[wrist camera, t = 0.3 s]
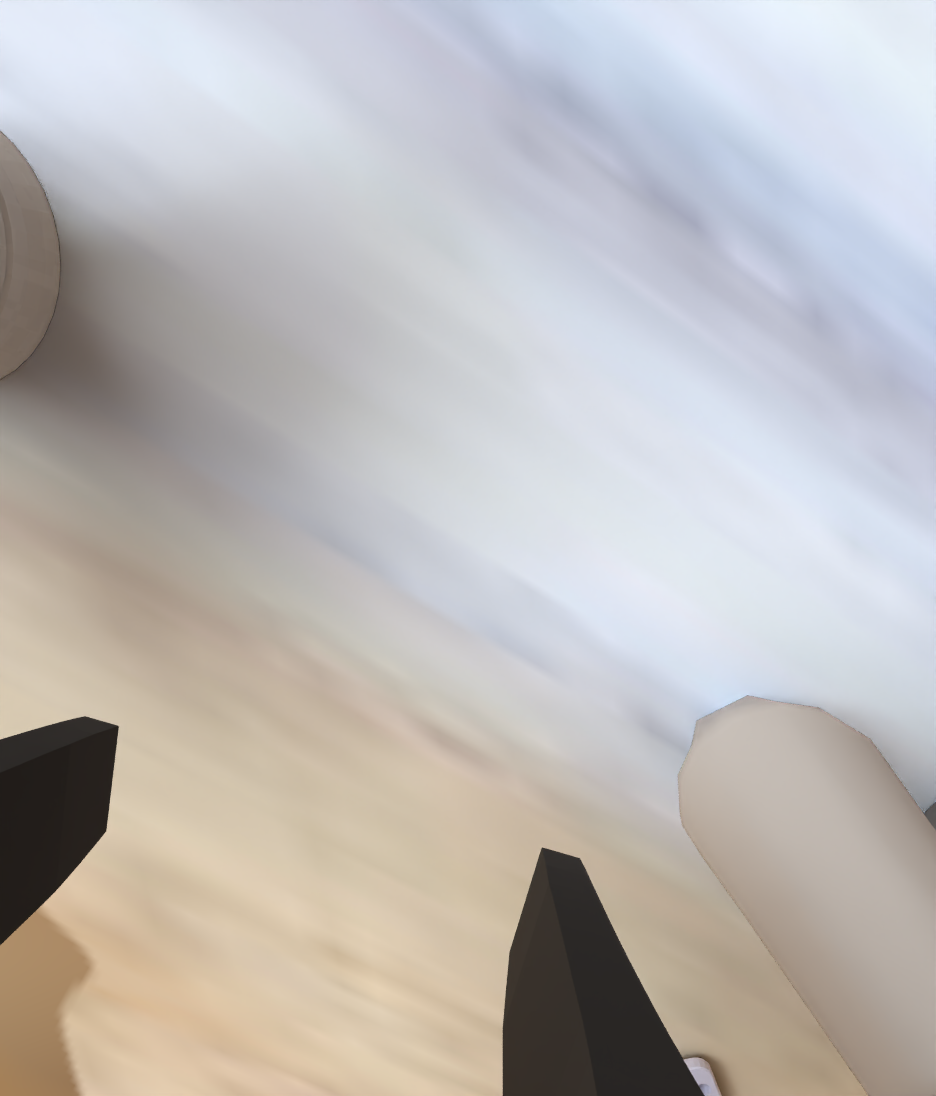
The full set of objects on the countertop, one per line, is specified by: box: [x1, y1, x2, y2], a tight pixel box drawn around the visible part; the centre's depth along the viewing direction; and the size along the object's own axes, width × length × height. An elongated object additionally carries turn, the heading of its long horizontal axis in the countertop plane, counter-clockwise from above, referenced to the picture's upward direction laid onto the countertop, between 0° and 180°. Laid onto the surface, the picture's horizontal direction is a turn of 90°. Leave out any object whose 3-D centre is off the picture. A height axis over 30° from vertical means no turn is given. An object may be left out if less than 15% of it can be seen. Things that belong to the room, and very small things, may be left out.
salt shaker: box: [678, 695, 936, 1096], centre depth 12 cm, size 6×6×13 cm
